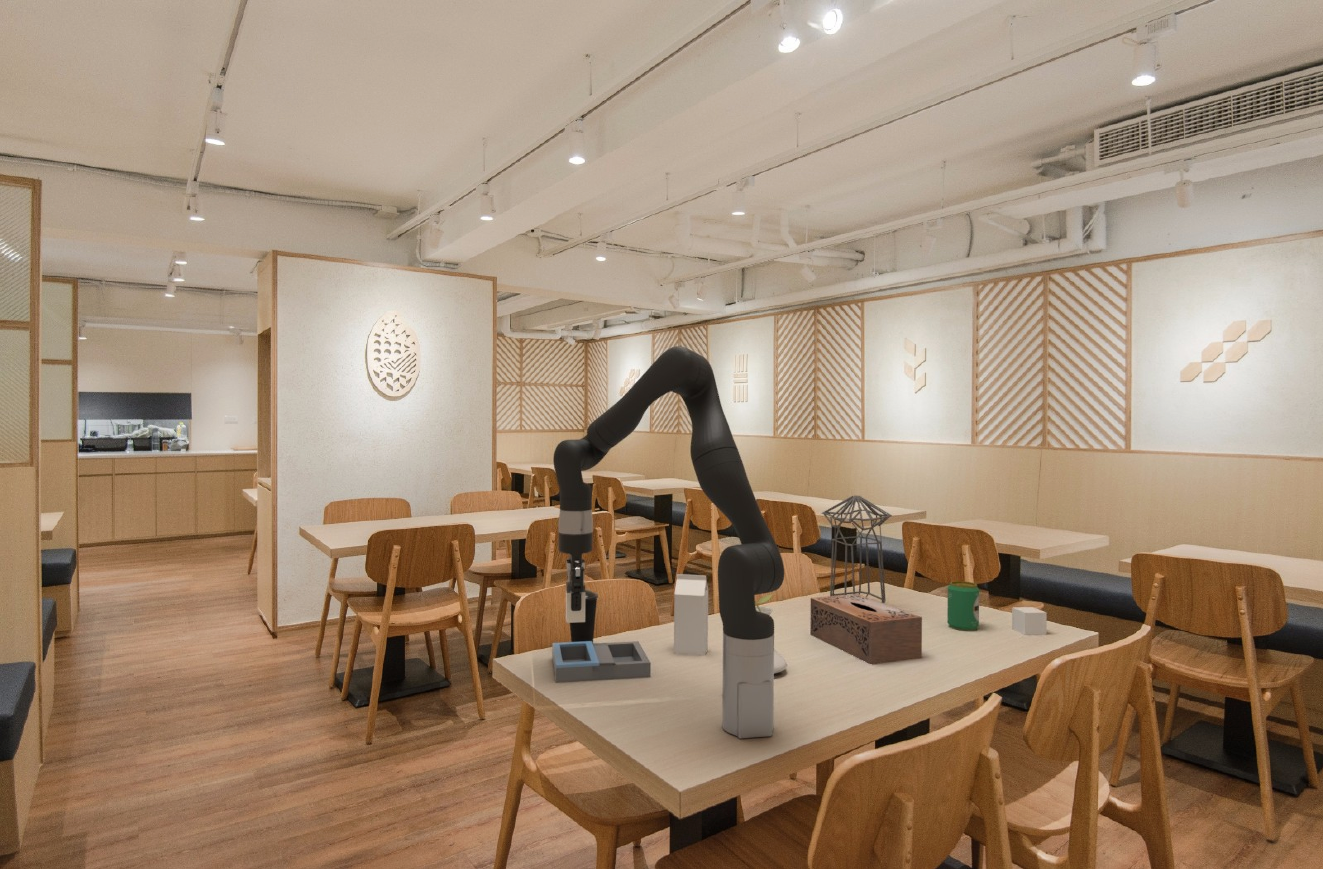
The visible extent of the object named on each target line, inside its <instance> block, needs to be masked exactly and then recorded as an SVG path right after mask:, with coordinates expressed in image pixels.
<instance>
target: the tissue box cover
mask: <svg viewBox="0 0 1323 869" xmlns="http://www.w3.org/2000/svg"><path fill="white" fill-rule="evenodd" d="M881 602H882V601H878V600H876V599H873V598H869V597H868V596H867V597H866V596H863V595H861V594H860V595H859V593H856V594H847V595H837V596H830V595H829V596H817V597H811V598H810V625H809V627H810V630H809V631H810V635H811V636H812V637H813V638H816V639H818V640H820V641H822V642H824V643H826V644H828V645H830V646H832V647H834V648H836V649H838V650H840V651H842V650H843V651H842V652H844V653H846V654H848V655H851V656H852V655H853V656H852V657H855V658H857V659H859V660H860V661H862V660H863V662H864V661H865V663H866V664H869V665H870V664H872V665H877V664H878V665H879V664H887V663H894V662H903V661H910V660H917V659H922V658H923V657H922V656H923V654H922V651H923V646H922V645H923V643H922V642H923V617H922V616H920V615H918V614H915V613H911V612H909V611H906V610H903V609H901V608H897V607H894V606H892V605H889V604H886V603H881Z"/></svg>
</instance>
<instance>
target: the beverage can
mask: <svg viewBox="0 0 1323 869" xmlns="http://www.w3.org/2000/svg"><path fill="white" fill-rule="evenodd" d="M946 618H947V619H946V621H947V622H946V623H947V624H948V627H949V628H951V629H953V630H957V631H963V632H973V631H977V630H978V628H979V626H980V588H979V587H978V584H977V583H975V582H970V581H966V580H965V581H963V580H962V581H961V580H955V581H950V583H949V584H948V586H947V617H946Z"/></svg>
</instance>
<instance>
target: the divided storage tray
mask: <svg viewBox="0 0 1323 869" xmlns="http://www.w3.org/2000/svg"><path fill="white" fill-rule="evenodd" d="M551 653H552V664H553V672H554V679H555V683H557V684H558V683H572V682H573V683H574V682H575V683H576V682H587V681H590V682H591V681H602V680H603V681H605V680H621V679H622V680H623V679H637V678H638V679H639V678H640V679H641V678H651V666H652V665H651V661H650V659H649V658H648V656H647V653H646V652H645V650H644V649H643V646H642V645H641V643H640V642H639V640H638V641H636V640H635V641H617V642H600V643H599V642H597V643H594V642H593V644H592V641H583V642H571V641H567V642H552V652H551Z"/></svg>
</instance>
